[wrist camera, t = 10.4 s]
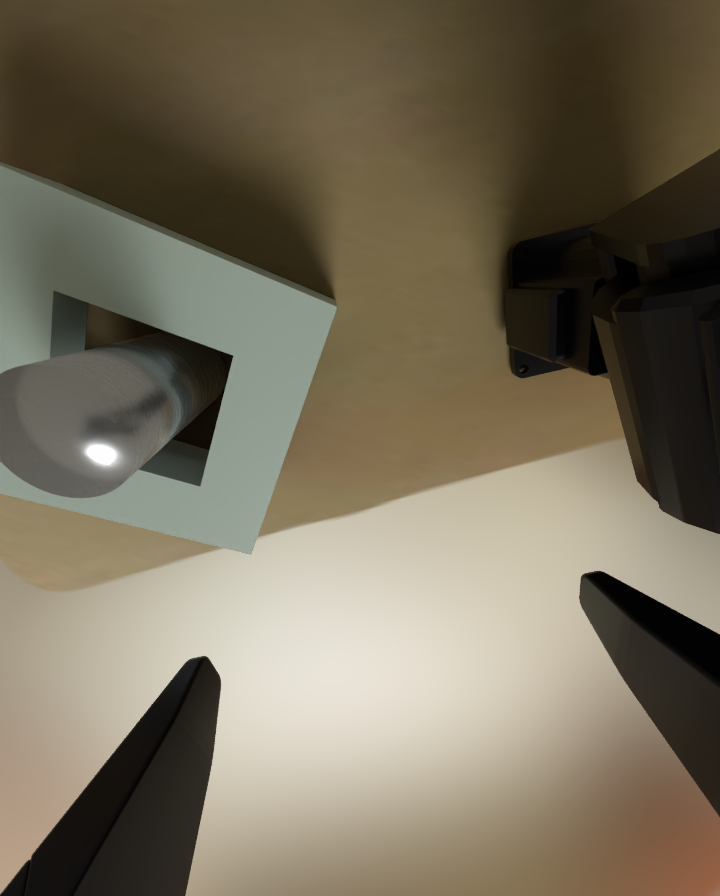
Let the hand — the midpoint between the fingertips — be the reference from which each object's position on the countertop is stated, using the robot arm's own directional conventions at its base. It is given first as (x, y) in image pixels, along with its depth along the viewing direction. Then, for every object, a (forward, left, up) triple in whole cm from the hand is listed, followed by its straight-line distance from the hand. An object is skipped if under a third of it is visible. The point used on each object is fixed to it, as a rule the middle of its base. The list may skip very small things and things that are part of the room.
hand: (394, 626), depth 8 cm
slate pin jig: (+8, -5, -13) cm, 16 cm away
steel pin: (+8, -5, -13) cm, 16 cm away
